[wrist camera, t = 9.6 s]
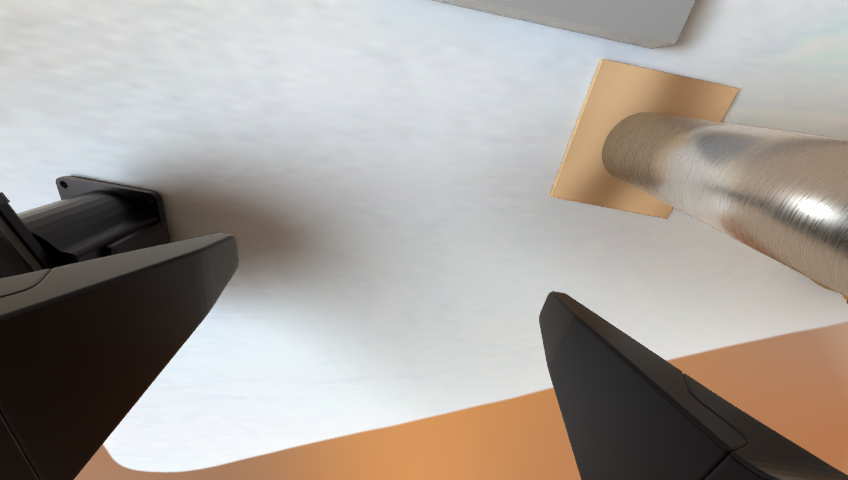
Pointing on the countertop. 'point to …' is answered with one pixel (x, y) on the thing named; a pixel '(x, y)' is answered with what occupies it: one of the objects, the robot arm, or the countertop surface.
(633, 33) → the cover plate
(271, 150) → the countertop surface
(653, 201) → the coaster
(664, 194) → the t key
